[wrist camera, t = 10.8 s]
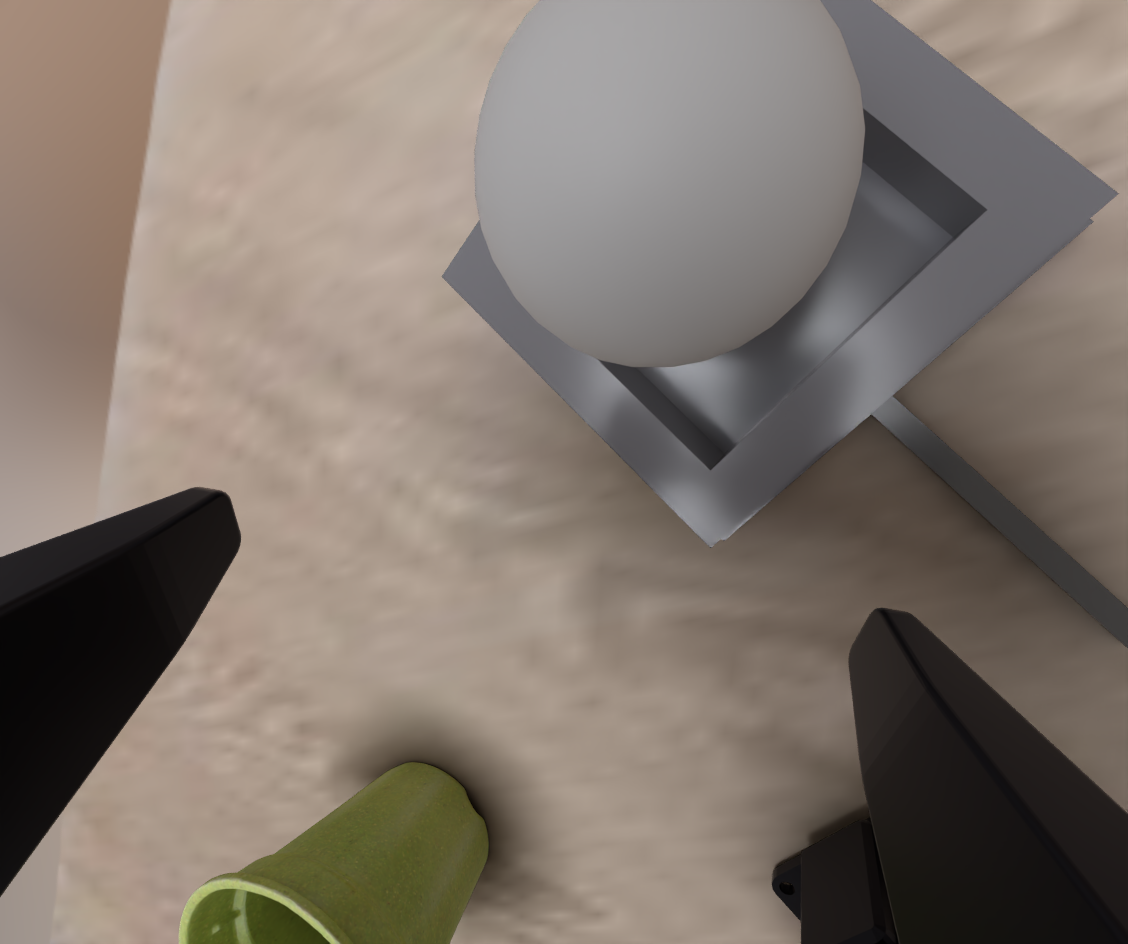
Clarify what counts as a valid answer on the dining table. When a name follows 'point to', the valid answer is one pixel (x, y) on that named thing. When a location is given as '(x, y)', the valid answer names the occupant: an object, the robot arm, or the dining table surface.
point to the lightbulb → (667, 169)
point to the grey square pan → (846, 308)
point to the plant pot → (356, 872)
